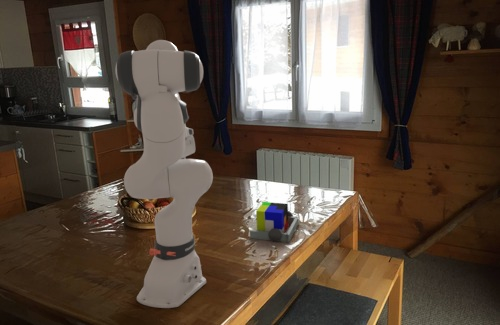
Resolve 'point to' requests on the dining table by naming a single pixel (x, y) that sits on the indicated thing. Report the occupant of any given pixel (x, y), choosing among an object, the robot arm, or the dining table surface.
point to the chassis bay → (277, 231)
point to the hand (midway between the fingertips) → (182, 170)
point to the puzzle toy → (272, 216)
